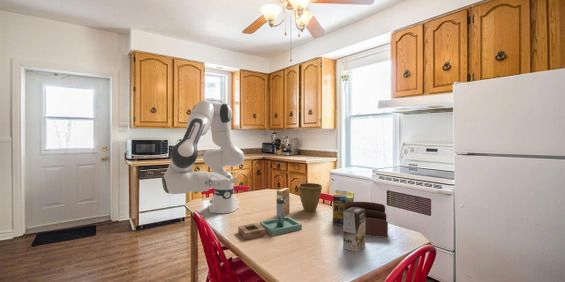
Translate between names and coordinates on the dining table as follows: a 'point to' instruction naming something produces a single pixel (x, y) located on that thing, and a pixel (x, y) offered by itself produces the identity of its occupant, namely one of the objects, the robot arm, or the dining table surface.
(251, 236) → the socket block
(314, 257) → the dining table surface
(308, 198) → the plant pot
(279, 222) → the spice jar
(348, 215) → the coffee box
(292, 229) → the tray
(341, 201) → the protein box
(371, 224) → the letter holder
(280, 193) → the candy box
